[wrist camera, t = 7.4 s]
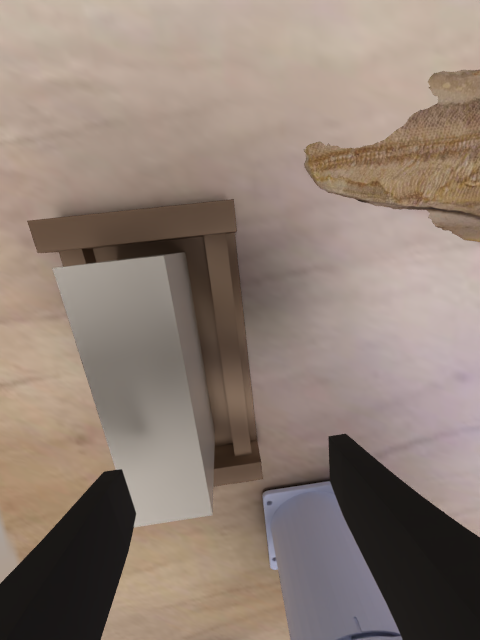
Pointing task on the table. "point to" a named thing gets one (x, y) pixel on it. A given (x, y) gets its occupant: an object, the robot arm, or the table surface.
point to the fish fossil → (417, 160)
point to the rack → (208, 296)
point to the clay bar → (146, 379)
